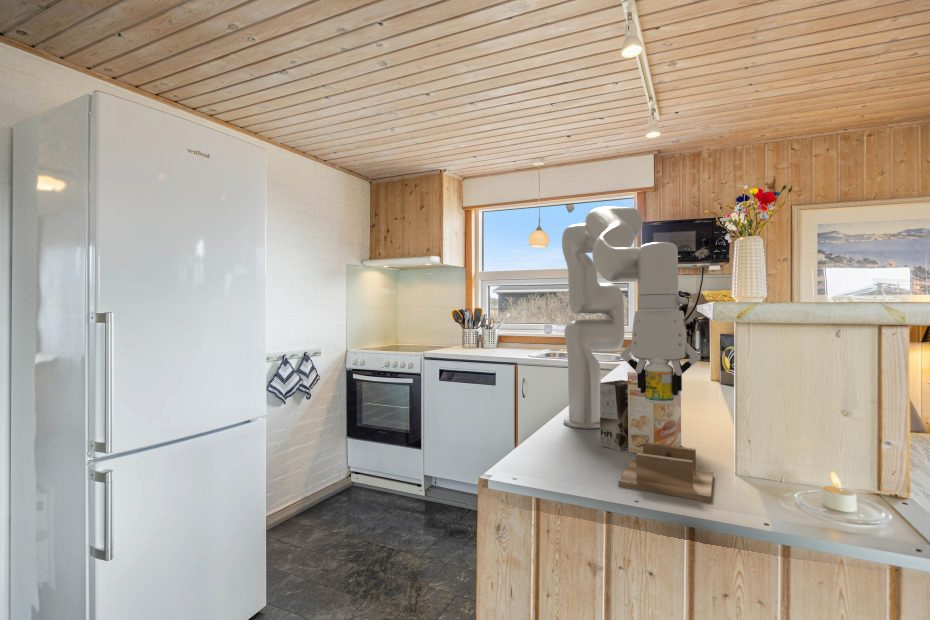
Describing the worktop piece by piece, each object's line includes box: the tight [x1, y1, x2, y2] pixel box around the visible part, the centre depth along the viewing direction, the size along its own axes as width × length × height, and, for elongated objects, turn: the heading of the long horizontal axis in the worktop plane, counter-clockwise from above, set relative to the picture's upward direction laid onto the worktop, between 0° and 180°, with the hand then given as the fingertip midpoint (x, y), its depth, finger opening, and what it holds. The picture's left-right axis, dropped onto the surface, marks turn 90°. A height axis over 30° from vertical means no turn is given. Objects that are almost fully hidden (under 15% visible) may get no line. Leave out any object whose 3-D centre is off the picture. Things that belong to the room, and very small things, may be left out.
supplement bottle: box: [644, 358, 674, 405], centre depth 93 cm, size 5×5×10 cm
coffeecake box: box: [627, 368, 682, 455], centre depth 113 cm, size 15×7×20 cm, turn 132°
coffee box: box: [599, 379, 628, 452], centre depth 117 cm, size 9×6×16 cm
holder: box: [617, 442, 714, 503], centre depth 92 cm, size 14×16×6 cm
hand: (659, 392), depth 93 cm, fingers closed on supplement bottle, 5 cm apart
